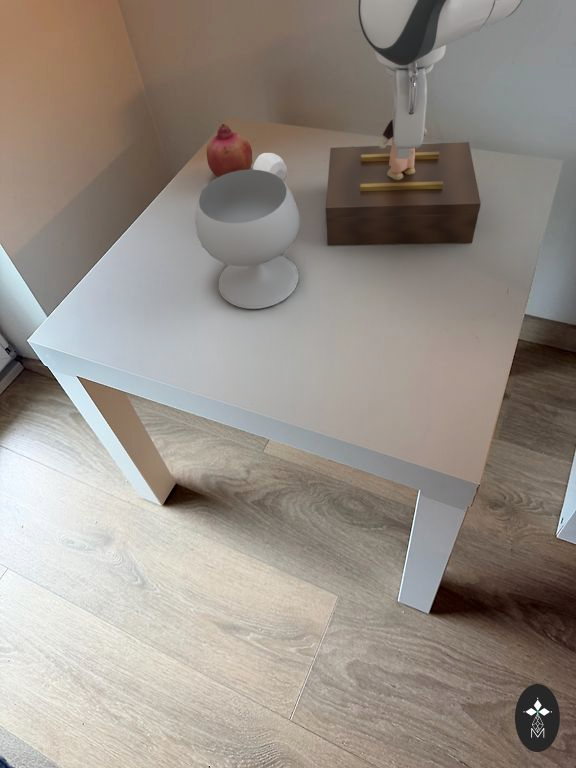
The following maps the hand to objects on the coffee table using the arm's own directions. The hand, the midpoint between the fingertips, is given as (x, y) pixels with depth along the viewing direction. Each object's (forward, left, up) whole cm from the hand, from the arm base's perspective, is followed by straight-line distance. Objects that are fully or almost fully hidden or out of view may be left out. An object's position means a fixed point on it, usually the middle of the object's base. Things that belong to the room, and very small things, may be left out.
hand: (402, 143), depth 78 cm
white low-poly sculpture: (+24, 0, -12) cm, 27 cm away
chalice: (+21, +16, -12) cm, 29 cm away
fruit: (+29, -11, -12) cm, 33 cm away
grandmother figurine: (0, 0, -5) cm, 5 cm away
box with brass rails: (0, 0, -12) cm, 12 cm away
